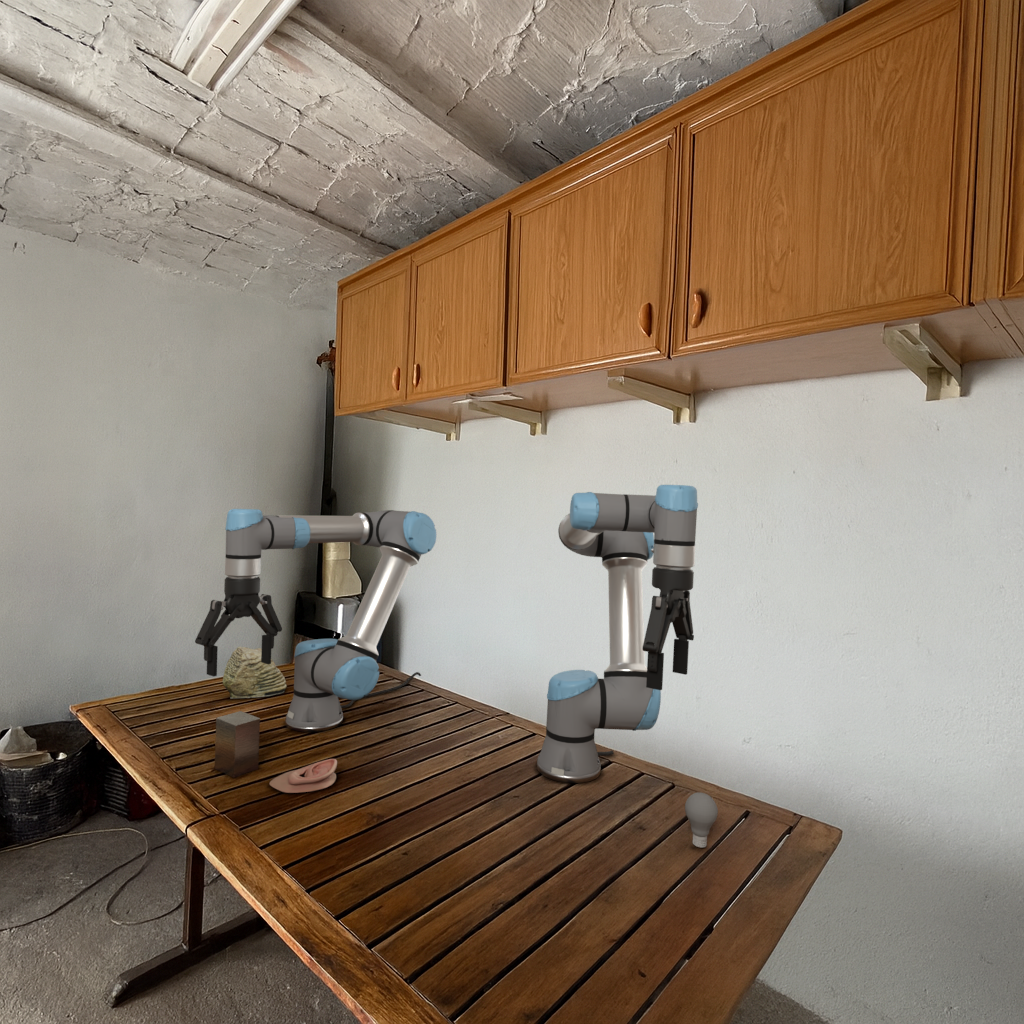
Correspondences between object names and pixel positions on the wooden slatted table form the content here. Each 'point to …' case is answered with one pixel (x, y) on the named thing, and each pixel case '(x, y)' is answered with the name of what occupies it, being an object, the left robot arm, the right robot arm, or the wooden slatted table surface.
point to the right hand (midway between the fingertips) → (667, 680)
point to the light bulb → (701, 816)
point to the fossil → (252, 675)
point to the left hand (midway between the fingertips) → (239, 669)
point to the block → (237, 743)
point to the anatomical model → (307, 778)
